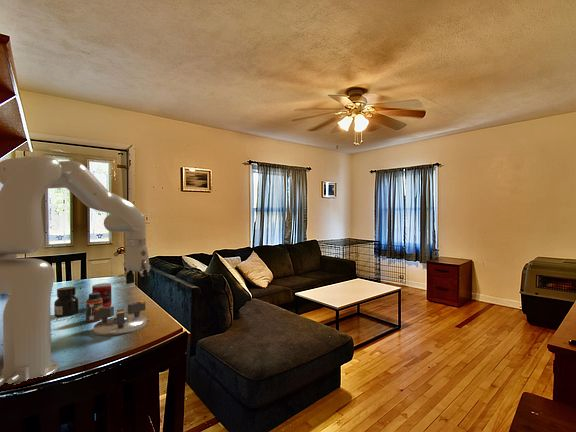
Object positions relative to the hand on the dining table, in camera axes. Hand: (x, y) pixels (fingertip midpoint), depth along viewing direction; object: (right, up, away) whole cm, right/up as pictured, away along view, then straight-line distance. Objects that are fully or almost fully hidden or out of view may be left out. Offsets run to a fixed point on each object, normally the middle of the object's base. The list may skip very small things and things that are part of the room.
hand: (137, 284), depth 121 cm
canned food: (-29, -17, +23) cm, 41 cm away
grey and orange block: (0, -13, -1) cm, 13 cm away
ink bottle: (-38, -17, +12) cm, 44 cm away
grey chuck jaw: (0, -13, -12) cm, 17 cm away
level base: (-3, -15, -6) cm, 17 cm away
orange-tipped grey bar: (-10, -13, -6) cm, 17 cm away
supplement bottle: (-20, -16, +3) cm, 26 cm away
